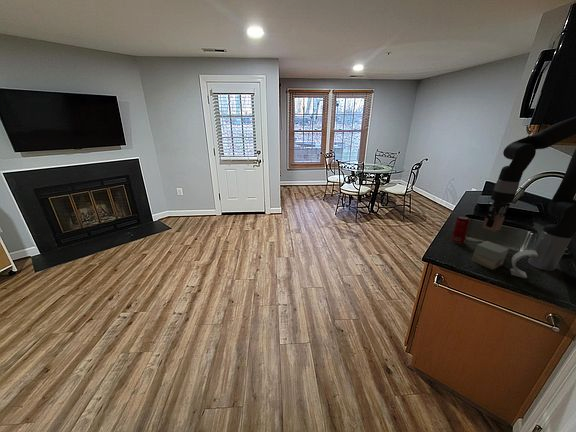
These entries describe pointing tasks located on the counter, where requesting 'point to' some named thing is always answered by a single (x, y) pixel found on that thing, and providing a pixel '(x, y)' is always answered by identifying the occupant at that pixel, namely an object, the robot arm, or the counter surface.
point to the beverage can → (460, 229)
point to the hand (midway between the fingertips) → (492, 225)
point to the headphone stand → (518, 256)
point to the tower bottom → (486, 261)
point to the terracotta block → (496, 224)
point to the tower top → (491, 251)
